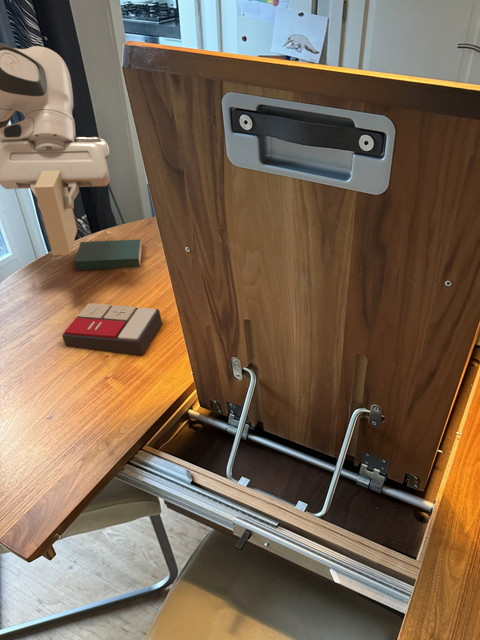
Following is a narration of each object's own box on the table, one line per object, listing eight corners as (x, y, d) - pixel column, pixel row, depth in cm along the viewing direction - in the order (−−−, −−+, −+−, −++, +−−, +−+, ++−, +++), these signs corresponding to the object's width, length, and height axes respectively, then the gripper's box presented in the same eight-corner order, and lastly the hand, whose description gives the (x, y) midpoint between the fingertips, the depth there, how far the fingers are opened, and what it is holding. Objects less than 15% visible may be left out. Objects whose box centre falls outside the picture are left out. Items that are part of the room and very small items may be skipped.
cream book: (52, 255, 98) (33, 187, 90) (61, 229, 106) (44, 165, 98) (70, 254, 99) (53, 186, 90) (78, 229, 107) (63, 165, 99)
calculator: (86, 300, 102) (159, 305, 100) (92, 318, 104) (163, 324, 102) (59, 332, 93) (138, 338, 91) (66, 351, 96) (142, 357, 94)
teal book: (77, 273, 118) (74, 261, 116) (83, 253, 125) (80, 241, 123) (140, 270, 120) (138, 258, 118) (142, 250, 127) (140, 239, 125)
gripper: (110, 145, 103) (115, 212, 102) (1, 147, 100) (6, 216, 99) (104, 127, 97) (109, 199, 96) (-12, 129, 94) (-8, 203, 93)
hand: (56, 208), depth 97 cm, fingers closed on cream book, 3 cm apart
